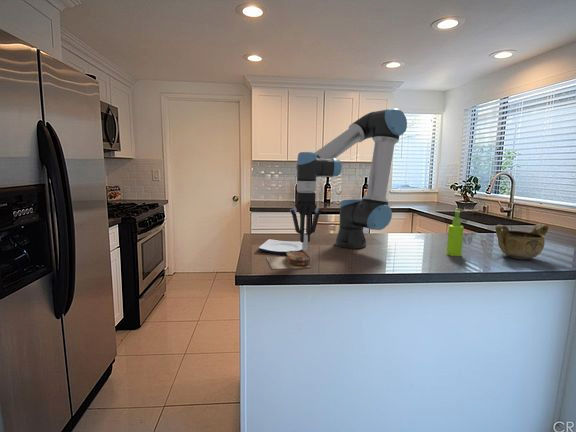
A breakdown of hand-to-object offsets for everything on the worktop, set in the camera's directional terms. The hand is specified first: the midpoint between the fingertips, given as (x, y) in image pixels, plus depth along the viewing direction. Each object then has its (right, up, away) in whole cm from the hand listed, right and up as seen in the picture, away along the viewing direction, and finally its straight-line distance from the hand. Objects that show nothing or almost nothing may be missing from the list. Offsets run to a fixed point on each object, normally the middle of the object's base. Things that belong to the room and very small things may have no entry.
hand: (304, 249), depth 135 cm
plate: (-9, -2, +21) cm, 23 cm away
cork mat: (-7, -5, -1) cm, 9 cm away
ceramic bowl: (+95, -5, +12) cm, 96 cm away
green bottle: (+69, -4, +16) cm, 71 cm away
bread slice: (+1, -4, +1) cm, 4 cm away
